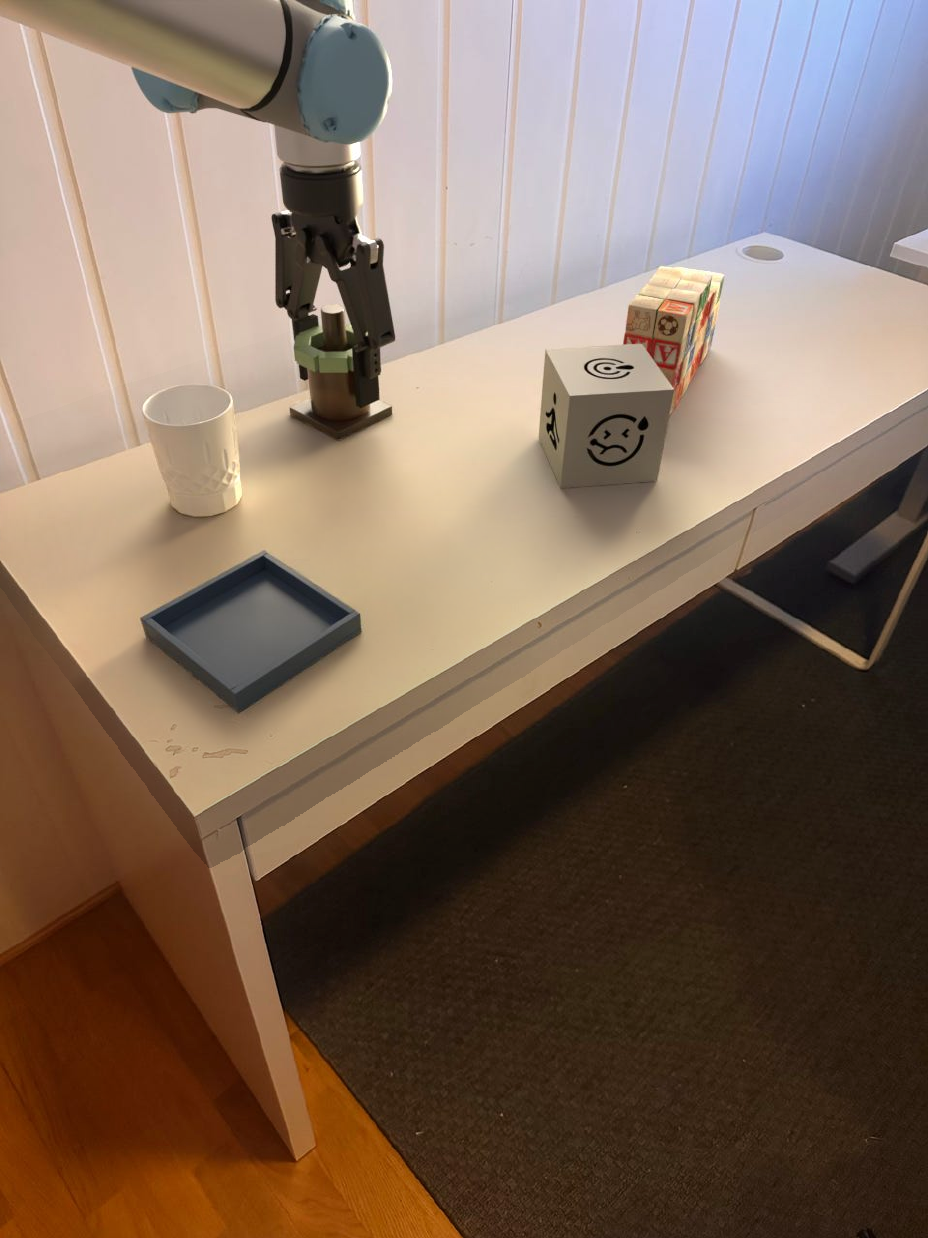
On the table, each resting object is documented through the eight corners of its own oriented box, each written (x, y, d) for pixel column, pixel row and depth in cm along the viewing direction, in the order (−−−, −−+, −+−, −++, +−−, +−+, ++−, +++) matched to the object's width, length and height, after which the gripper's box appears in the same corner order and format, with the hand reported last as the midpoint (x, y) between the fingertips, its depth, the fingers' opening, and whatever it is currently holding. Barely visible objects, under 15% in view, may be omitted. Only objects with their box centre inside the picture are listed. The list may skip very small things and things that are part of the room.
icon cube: (628, 431, 97) (641, 343, 91) (657, 480, 90) (674, 389, 83) (538, 437, 96) (545, 348, 89) (560, 488, 88) (569, 395, 82)
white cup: (162, 482, 88) (139, 389, 82) (243, 470, 90) (227, 378, 83) (167, 527, 83) (143, 431, 76) (253, 513, 84) (237, 418, 78)
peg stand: (290, 415, 99) (276, 308, 91) (344, 390, 103) (335, 287, 95) (338, 440, 95) (328, 331, 87) (392, 414, 99) (388, 308, 91)
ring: (279, 355, 94) (277, 340, 93) (339, 331, 99) (338, 317, 98) (332, 380, 90) (331, 365, 89) (392, 354, 95) (392, 340, 94)
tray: (145, 636, 71) (139, 617, 70) (267, 568, 78) (263, 549, 77) (239, 713, 65) (234, 694, 64) (362, 632, 72) (360, 613, 71)
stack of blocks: (663, 338, 115) (680, 239, 107) (711, 347, 113) (732, 248, 105) (613, 410, 101) (628, 302, 93) (667, 422, 99) (687, 313, 91)
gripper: (431, 176, 79) (433, 409, 94) (278, 133, 89) (302, 348, 104) (369, 194, 75) (381, 435, 90) (216, 147, 85) (250, 369, 100)
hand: (339, 388), depth 97 cm, fingers closed on ring, 8 cm apart
